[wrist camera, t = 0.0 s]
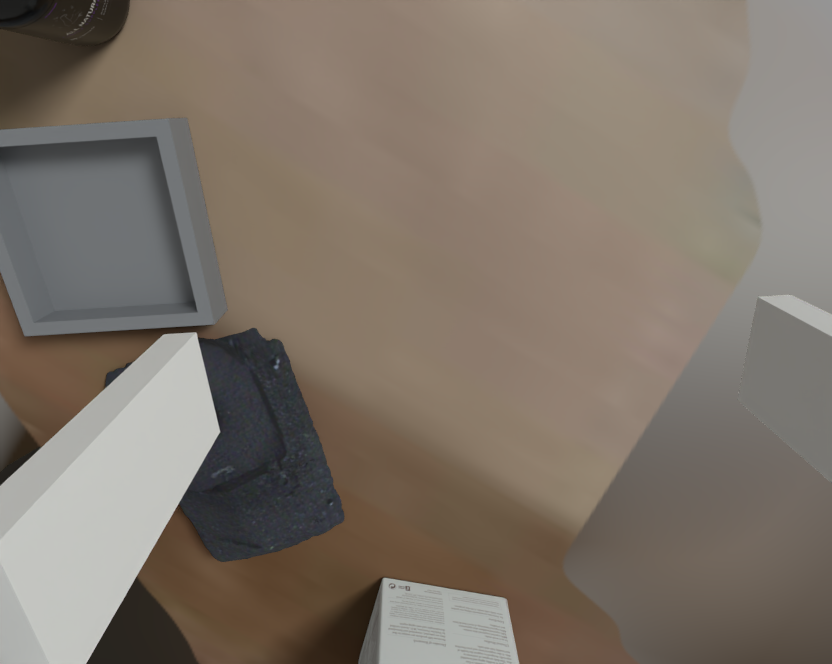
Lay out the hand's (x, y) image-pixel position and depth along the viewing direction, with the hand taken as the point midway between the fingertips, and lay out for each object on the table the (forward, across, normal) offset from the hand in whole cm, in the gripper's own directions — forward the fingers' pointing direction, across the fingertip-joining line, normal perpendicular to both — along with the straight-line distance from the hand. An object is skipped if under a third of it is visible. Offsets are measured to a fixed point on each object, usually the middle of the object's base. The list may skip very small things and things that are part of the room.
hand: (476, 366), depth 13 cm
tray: (+28, -23, -1) cm, 36 cm away
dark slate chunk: (+29, -18, -21) cm, 40 cm away
